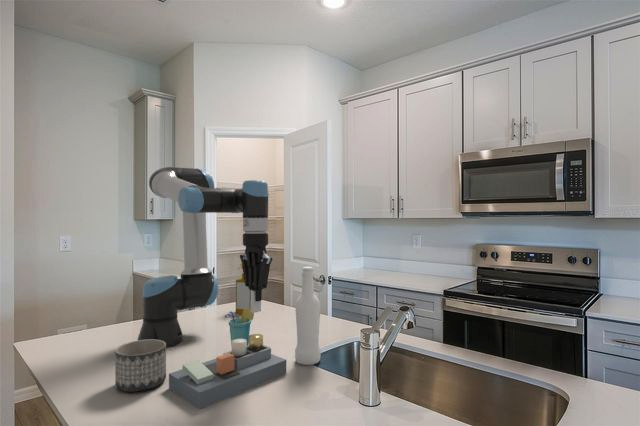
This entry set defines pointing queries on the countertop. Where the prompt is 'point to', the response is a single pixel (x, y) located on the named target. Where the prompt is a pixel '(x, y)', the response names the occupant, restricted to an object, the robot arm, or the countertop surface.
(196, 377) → the block
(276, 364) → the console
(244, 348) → the button ivory
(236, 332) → the cup
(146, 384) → the planter
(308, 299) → the bottle
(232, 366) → the slider knob
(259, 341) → the button brass
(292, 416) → the countertop surface
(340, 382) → the countertop surface
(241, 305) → the soap bottle
